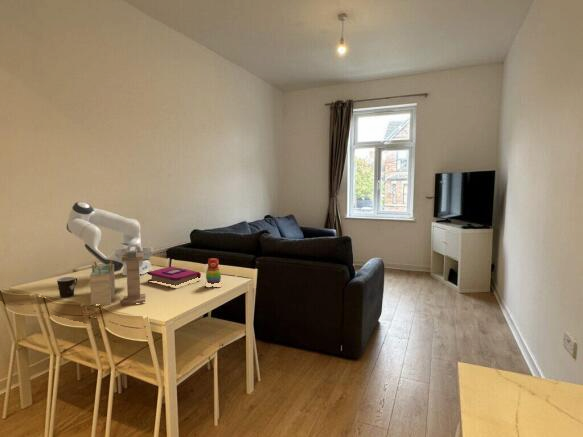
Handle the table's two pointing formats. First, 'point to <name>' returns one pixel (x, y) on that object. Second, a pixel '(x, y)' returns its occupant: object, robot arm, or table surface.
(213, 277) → the stacking bear
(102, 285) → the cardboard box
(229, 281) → the table surface
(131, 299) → the walnut stand
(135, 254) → the remote
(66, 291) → the coffee mug
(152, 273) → the book
